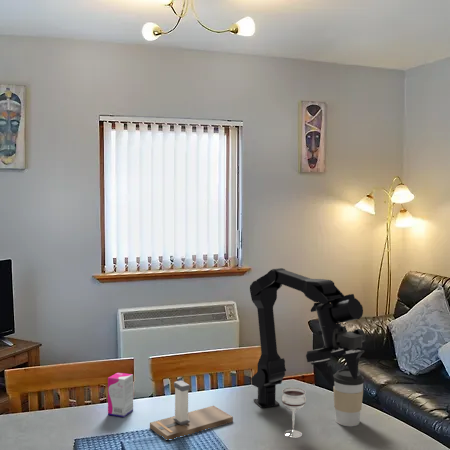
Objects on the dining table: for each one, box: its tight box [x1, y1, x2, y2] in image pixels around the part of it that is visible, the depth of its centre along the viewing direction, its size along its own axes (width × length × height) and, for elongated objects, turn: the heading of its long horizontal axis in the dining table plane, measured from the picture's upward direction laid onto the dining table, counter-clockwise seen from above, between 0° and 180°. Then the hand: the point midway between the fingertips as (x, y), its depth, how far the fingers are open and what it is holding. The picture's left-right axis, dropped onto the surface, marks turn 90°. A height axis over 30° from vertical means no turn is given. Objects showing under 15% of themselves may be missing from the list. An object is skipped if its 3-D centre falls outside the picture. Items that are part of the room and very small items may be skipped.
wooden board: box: [149, 405, 234, 440], centre depth 155 cm, size 22×10×2 cm, turn 125°
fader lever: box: [173, 380, 191, 425], centre depth 153 cm, size 3×4×11 cm
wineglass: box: [281, 387, 307, 439], centre depth 150 cm, size 7×7×12 cm
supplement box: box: [107, 372, 134, 418], centre depth 163 cm, size 6×6×12 cm
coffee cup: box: [332, 367, 365, 427], centre depth 158 cm, size 9×9×15 cm
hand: (344, 382), depth 146 cm, fingers open, 9 cm apart
